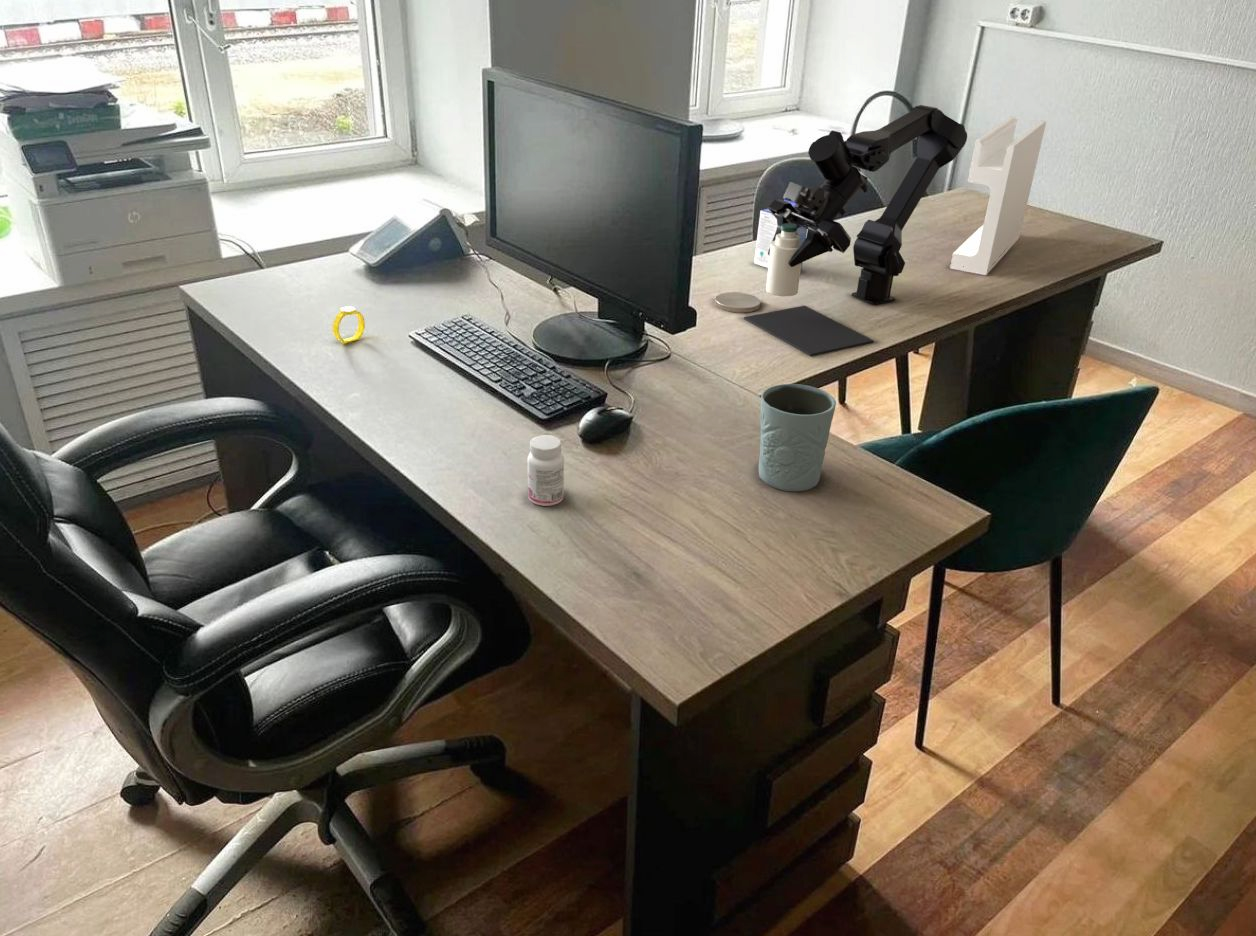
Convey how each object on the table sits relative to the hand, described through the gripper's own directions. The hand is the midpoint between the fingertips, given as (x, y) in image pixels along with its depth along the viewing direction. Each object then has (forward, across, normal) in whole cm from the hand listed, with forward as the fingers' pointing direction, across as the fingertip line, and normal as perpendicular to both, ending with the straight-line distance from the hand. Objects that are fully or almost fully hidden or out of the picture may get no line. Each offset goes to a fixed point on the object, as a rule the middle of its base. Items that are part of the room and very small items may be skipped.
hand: (779, 260), depth 186 cm
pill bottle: (+56, +39, -38) cm, 78 cm away
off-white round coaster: (+9, -11, +9) cm, 17 cm away
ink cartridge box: (-6, -27, +24) cm, 37 cm away
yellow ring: (+61, -24, -44) cm, 79 cm away
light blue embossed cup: (+32, +48, -15) cm, 60 cm away
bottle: (+3, 0, +5) cm, 6 cm away
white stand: (-44, -16, +62) cm, 78 cm away
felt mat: (+6, +6, +12) cm, 14 cm away
